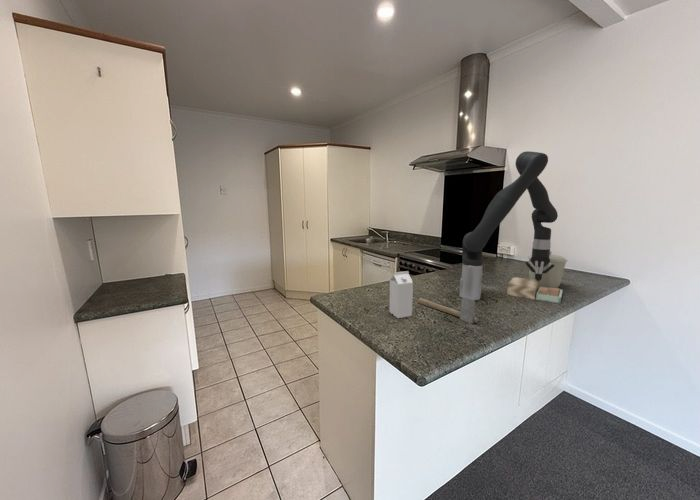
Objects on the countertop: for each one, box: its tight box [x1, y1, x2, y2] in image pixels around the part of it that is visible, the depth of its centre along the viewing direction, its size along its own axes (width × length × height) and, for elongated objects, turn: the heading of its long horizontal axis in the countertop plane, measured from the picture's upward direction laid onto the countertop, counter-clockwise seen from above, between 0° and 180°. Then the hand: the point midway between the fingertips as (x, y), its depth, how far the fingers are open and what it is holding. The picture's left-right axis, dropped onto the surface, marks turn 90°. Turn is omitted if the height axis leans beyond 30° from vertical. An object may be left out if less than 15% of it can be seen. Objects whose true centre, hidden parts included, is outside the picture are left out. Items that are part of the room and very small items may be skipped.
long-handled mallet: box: [417, 297, 479, 324], centre depth 118 cm, size 10×2×30 cm
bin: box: [535, 286, 563, 305], centre depth 136 cm, size 10×16×3 cm, turn 140°
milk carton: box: [389, 270, 414, 319], centre depth 116 cm, size 7×7×19 cm
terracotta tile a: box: [540, 287, 548, 295], centre depth 135 cm, size 4×5×3 cm
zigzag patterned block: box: [506, 276, 539, 300], centre depth 143 cm, size 12×16×6 cm
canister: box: [527, 250, 568, 288], centre depth 152 cm, size 18×18×21 cm
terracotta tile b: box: [548, 287, 560, 297], centre depth 138 cm, size 4×5×3 cm
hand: (538, 280), depth 142 cm, fingers closed
